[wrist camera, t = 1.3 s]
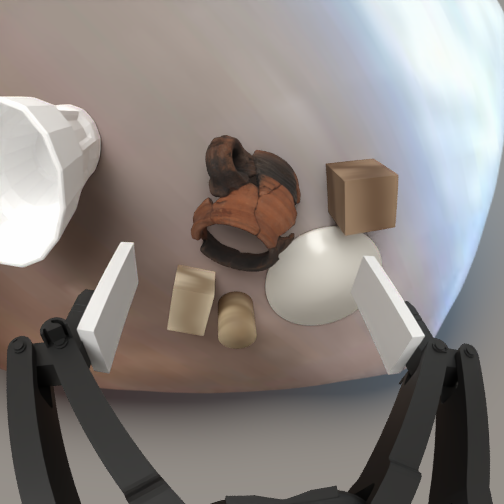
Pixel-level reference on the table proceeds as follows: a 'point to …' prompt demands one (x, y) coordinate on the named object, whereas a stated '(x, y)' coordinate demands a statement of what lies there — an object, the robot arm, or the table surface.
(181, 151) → the table surface
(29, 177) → the cup
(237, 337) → the oak dowel offcut
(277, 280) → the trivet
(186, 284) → the maple block
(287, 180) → the pottery mug
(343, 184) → the walnut block
